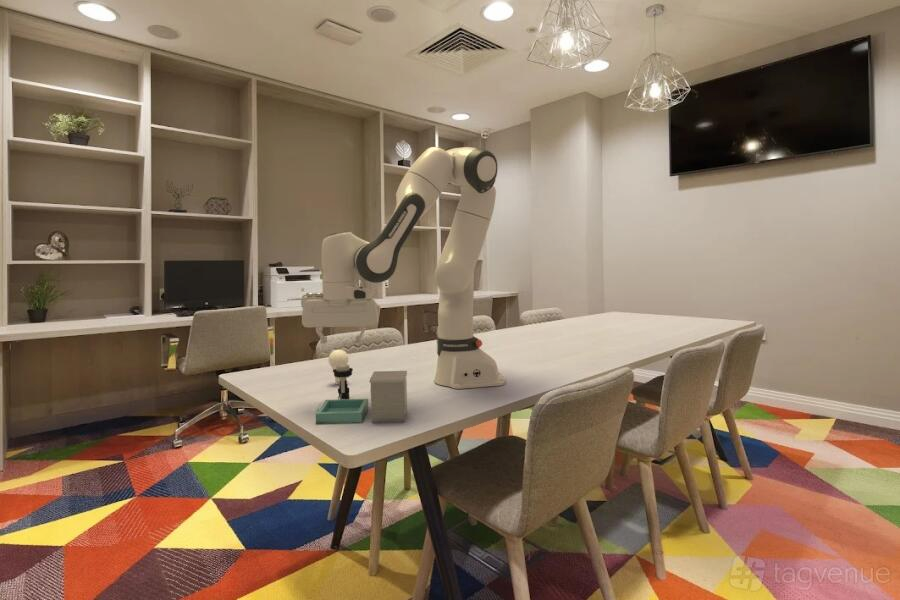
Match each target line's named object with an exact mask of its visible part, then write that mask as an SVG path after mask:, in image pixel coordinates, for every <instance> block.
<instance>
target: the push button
mask: <svg viewBox="0 0 900 600" xmlns="http://www.w3.org/2000/svg"><path fill="white" fill-rule="evenodd" d="M353 371H354V370H353V368H352V367H350V365H349V364H347V365H338V366H336V369H334V370H333V369H332V372H333V376H334V378H335V377H337V378H340V384H339V388H337V393H338V396H337V400H338V399H351V398H350V387H348V380H347V378H350V377H351V376H353Z"/></svg>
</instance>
